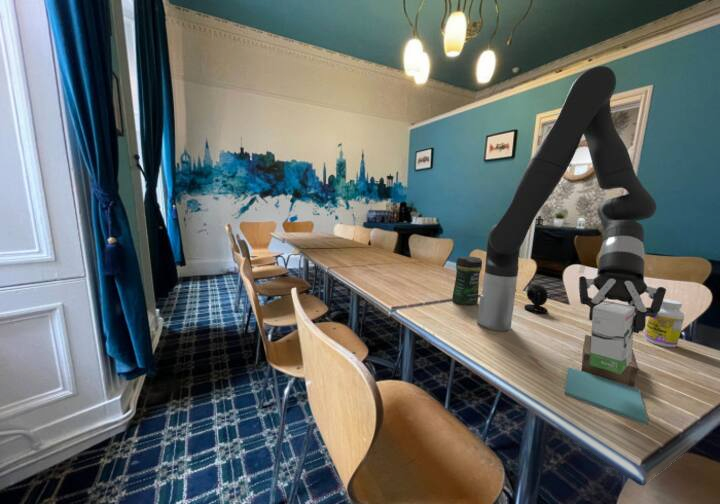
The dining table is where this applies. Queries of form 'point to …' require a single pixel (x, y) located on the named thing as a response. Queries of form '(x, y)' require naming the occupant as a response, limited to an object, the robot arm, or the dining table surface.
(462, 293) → the coffee jar
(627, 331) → the ink box
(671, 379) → the dining table surface
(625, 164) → the robot arm
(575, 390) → the teal mat
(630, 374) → the walnut case
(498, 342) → the dining table surface
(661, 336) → the supplement bottle
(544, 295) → the webcam
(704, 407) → the dining table surface
